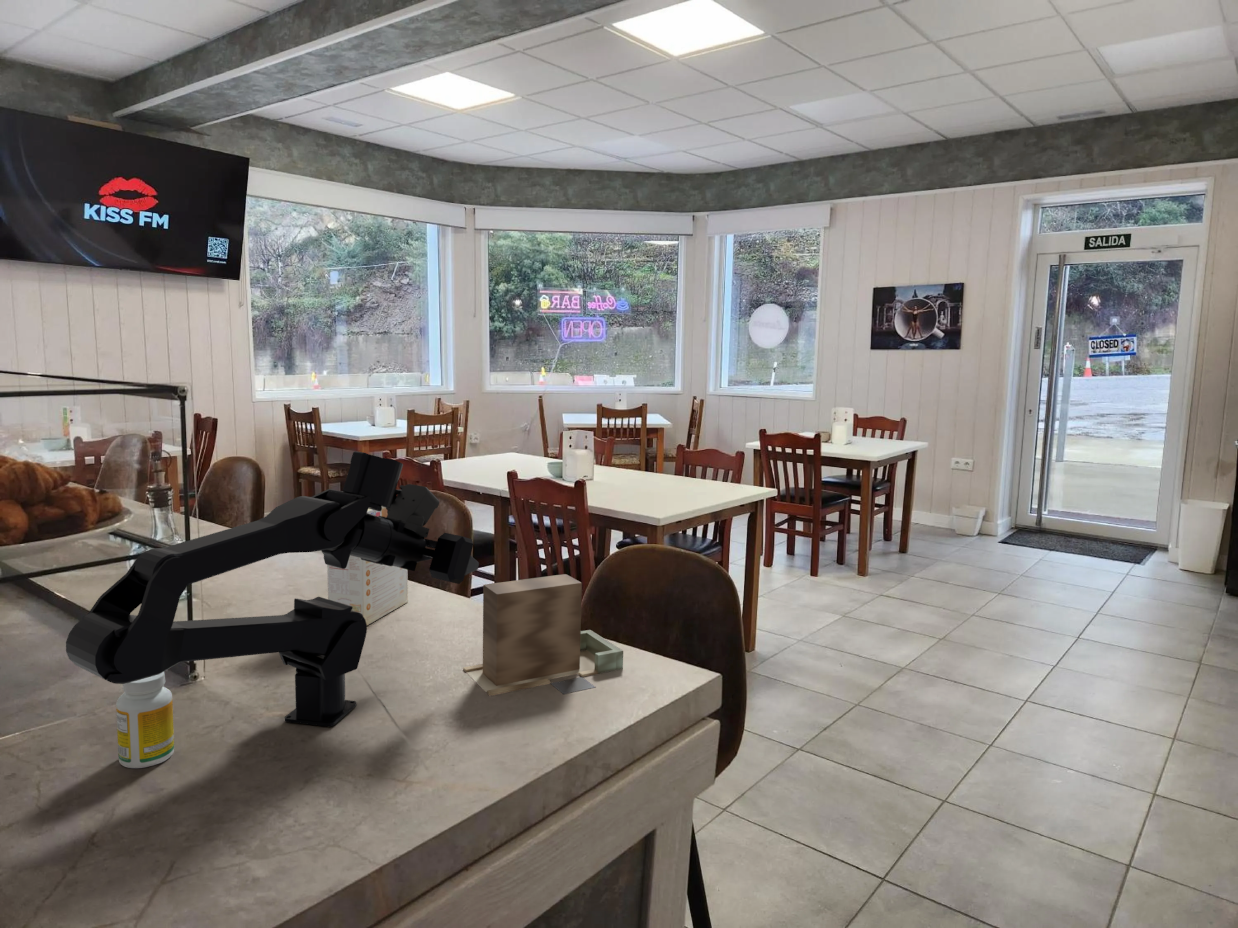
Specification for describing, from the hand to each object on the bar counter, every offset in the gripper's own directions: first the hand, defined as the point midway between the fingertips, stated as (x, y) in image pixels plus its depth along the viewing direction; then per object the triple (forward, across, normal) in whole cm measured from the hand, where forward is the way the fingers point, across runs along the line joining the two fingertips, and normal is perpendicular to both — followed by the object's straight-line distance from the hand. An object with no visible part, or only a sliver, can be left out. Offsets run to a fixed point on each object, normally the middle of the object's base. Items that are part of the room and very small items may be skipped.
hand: (454, 560), depth 119 cm
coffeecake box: (+12, +27, +12) cm, 31 cm away
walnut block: (+8, -13, +13) cm, 20 cm away
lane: (+10, -13, +12) cm, 21 cm away
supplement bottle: (-32, +6, +30) cm, 45 cm away
